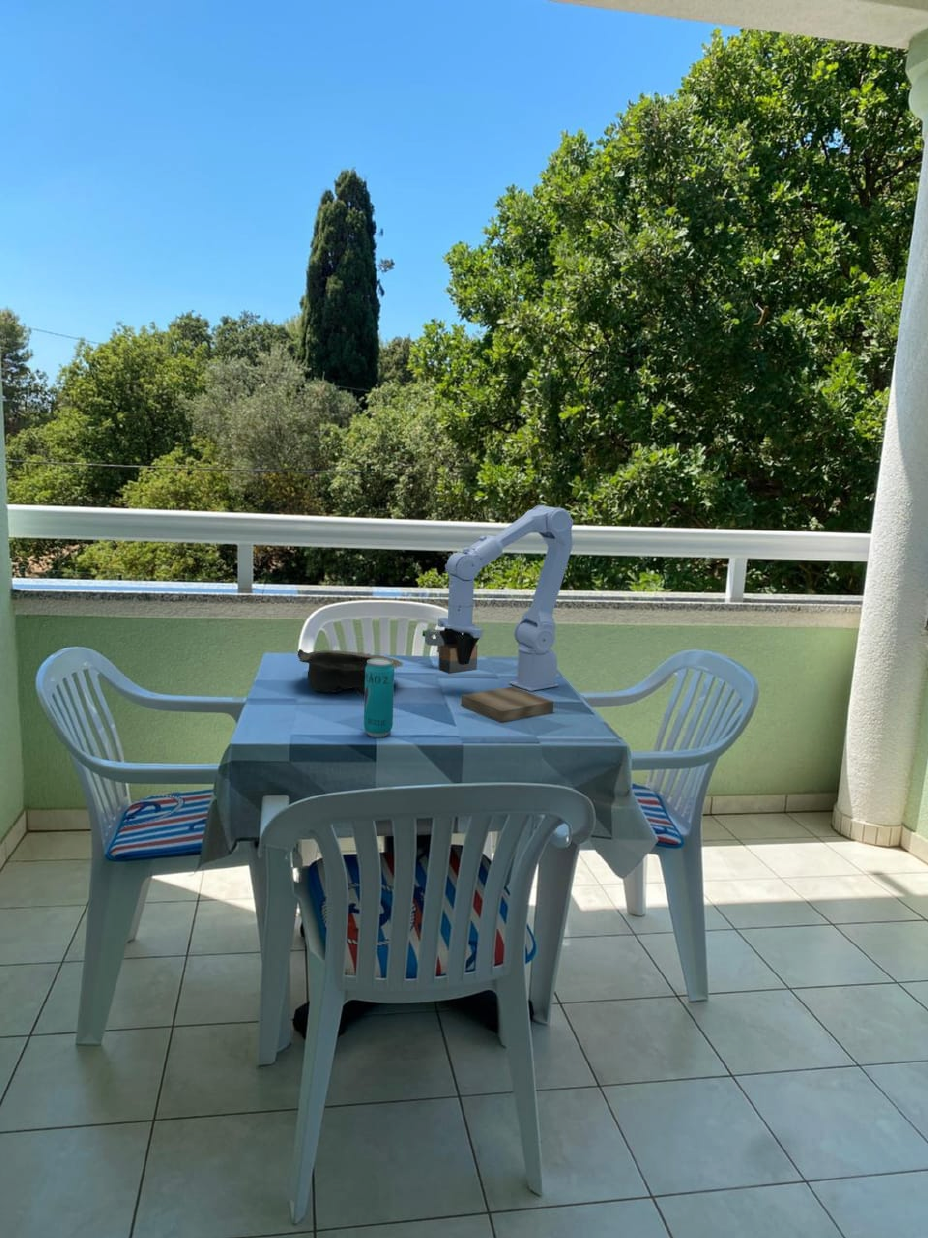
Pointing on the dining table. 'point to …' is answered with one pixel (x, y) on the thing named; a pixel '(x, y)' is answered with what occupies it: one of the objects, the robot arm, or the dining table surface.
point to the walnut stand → (507, 704)
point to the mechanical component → (431, 641)
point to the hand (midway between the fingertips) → (458, 662)
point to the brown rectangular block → (455, 659)
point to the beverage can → (378, 697)
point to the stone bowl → (338, 669)
